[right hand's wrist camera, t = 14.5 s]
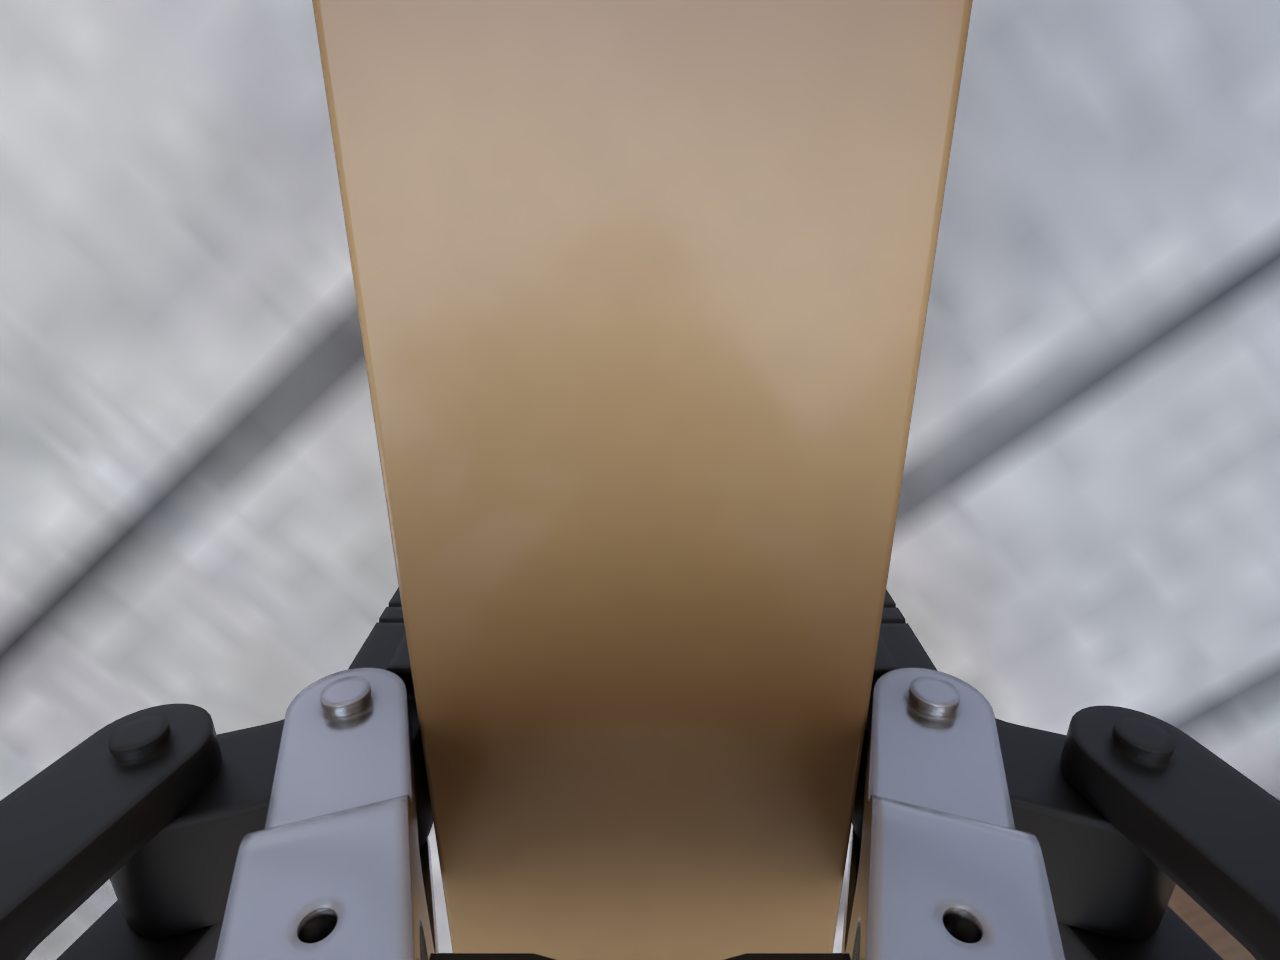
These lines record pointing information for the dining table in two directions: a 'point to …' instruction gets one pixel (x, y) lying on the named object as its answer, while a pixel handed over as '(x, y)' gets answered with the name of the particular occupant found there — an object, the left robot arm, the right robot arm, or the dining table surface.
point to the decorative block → (1207, 927)
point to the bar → (642, 434)
